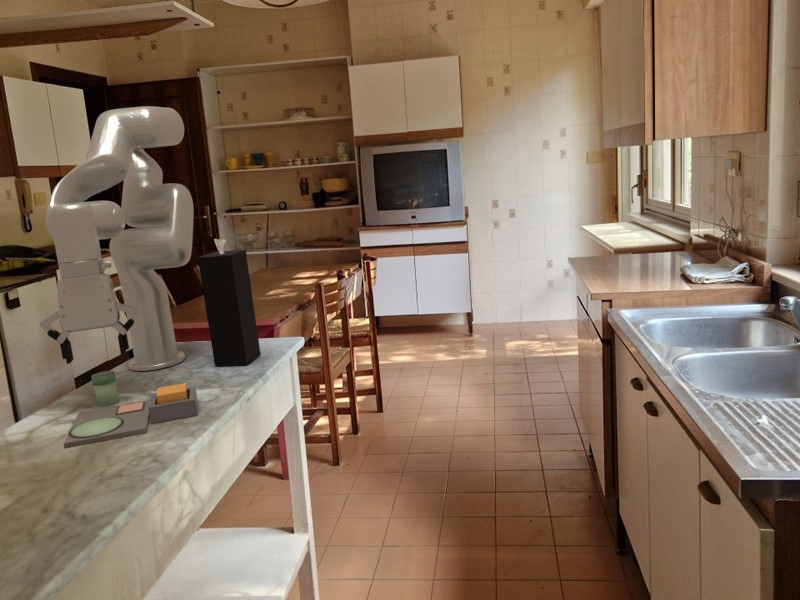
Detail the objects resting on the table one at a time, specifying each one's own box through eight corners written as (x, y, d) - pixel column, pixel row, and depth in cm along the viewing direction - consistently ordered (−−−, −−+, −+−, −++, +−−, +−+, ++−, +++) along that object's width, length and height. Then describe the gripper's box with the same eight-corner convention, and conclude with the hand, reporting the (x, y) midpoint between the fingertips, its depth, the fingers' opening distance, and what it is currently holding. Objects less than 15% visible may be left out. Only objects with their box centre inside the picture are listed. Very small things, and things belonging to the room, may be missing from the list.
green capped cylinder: (98, 402, 136) (92, 373, 135) (120, 398, 137) (115, 369, 136) (95, 408, 132) (89, 379, 131) (118, 404, 133) (113, 375, 132)
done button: (160, 400, 127) (157, 387, 126) (187, 395, 128) (185, 383, 128) (158, 408, 122) (156, 396, 122) (187, 403, 123) (185, 391, 123)
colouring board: (79, 416, 129) (78, 411, 128) (152, 403, 132) (151, 398, 132) (64, 448, 114) (63, 442, 113) (146, 432, 117) (145, 427, 117)
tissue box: (247, 365, 151) (228, 239, 145) (214, 367, 152) (194, 242, 147) (261, 355, 158) (243, 235, 153) (229, 356, 160) (211, 237, 154)
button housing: (153, 409, 128) (151, 394, 128) (197, 401, 130) (195, 386, 130) (151, 423, 121) (148, 407, 120) (198, 415, 123) (195, 399, 122)
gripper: (132, 262, 135) (146, 347, 138) (36, 273, 130) (52, 360, 133) (128, 266, 127) (143, 355, 130) (26, 278, 123) (44, 369, 126)
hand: (97, 357), depth 132 cm, fingers open, 9 cm apart
